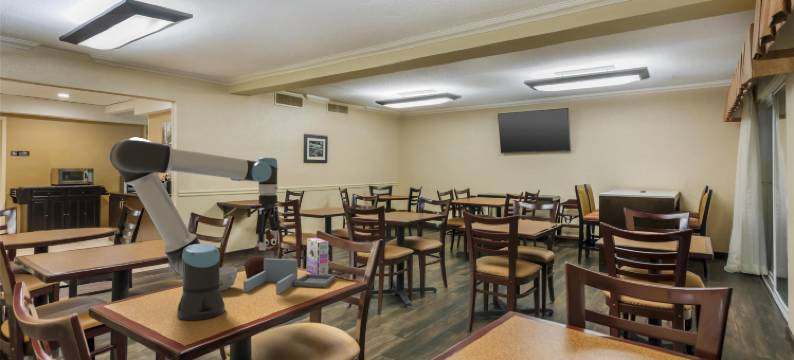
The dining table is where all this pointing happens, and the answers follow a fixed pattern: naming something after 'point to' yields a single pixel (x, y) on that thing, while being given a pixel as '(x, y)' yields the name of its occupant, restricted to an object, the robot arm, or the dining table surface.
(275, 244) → the poop emoji
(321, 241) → the candy box
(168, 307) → the dining table surface
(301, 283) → the tray
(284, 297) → the dining table surface
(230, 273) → the teacup
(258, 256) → the muffin
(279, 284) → the bay
